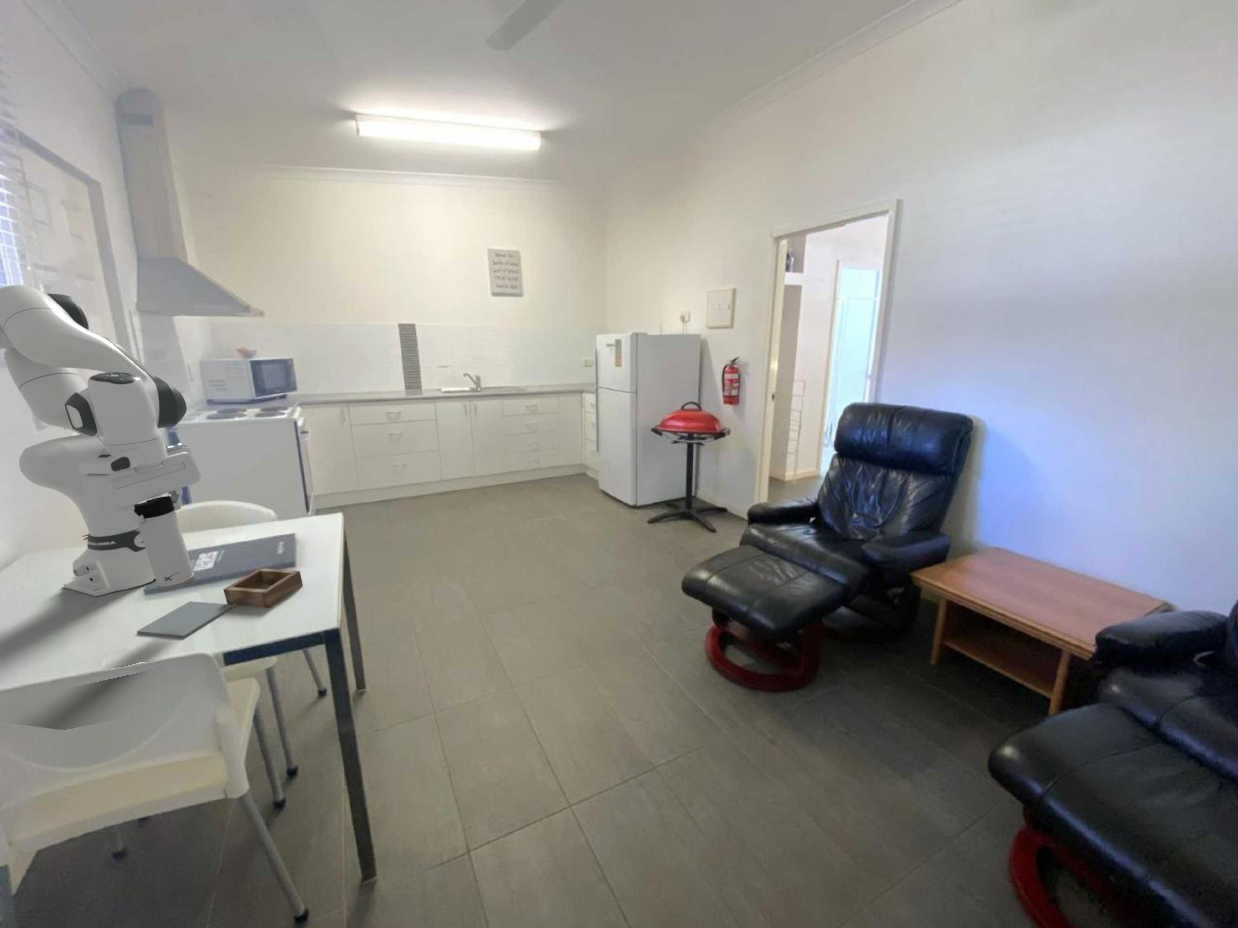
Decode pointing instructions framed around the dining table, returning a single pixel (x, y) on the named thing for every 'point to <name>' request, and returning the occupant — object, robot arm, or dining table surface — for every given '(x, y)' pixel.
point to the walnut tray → (250, 595)
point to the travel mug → (165, 543)
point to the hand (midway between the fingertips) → (157, 516)
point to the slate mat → (185, 619)
